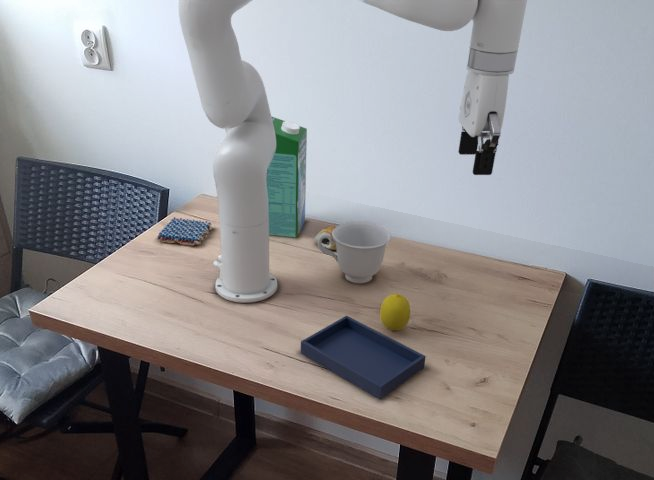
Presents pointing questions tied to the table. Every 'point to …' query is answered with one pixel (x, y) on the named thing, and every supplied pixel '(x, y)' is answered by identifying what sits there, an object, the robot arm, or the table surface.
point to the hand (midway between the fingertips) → (474, 163)
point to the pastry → (326, 241)
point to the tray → (363, 356)
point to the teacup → (358, 249)
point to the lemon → (395, 312)
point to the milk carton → (287, 180)
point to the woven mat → (184, 231)
